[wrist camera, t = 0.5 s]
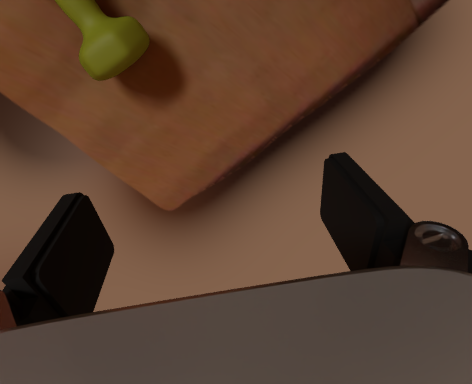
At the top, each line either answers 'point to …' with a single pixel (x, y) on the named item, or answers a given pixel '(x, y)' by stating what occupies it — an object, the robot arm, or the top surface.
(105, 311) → the robot arm
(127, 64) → the dumbbell
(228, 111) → the top surface
